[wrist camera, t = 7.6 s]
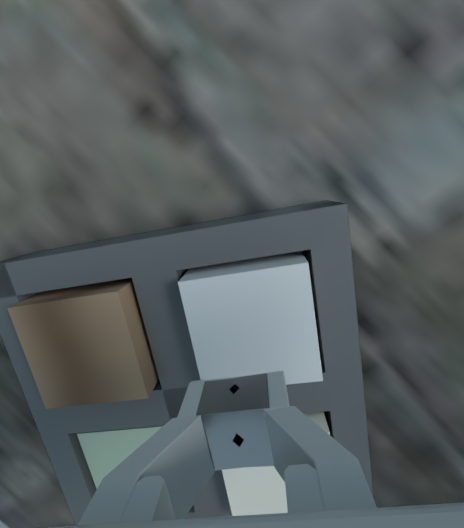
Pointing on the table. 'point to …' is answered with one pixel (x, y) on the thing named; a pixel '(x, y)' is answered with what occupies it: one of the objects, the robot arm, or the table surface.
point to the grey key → (253, 318)
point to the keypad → (177, 332)
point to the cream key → (260, 484)
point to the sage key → (111, 448)
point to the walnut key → (86, 344)
